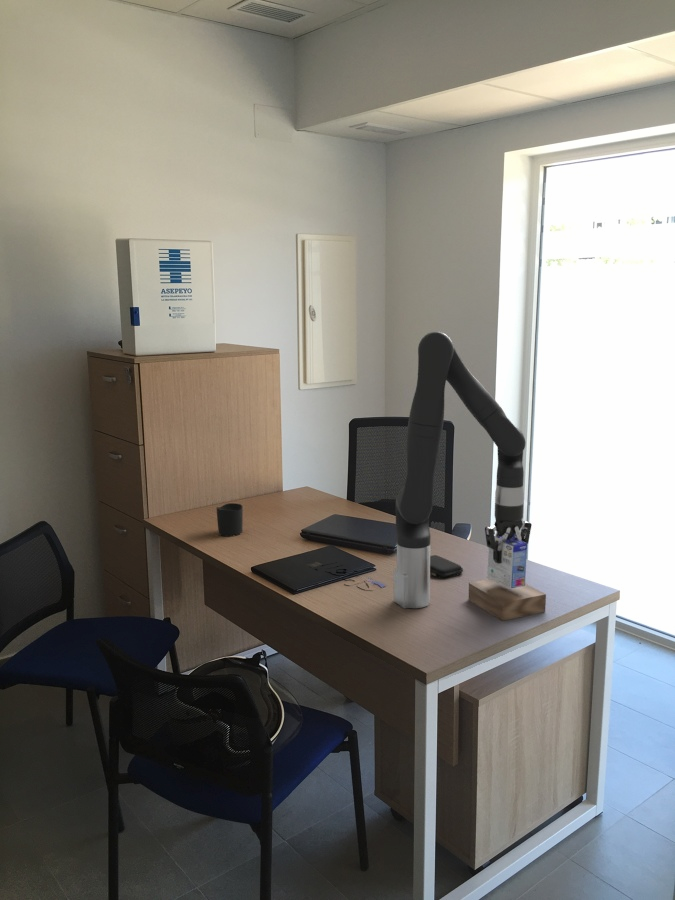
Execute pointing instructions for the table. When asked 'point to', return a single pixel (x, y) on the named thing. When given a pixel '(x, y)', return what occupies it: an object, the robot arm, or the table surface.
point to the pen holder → (230, 519)
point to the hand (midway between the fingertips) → (507, 560)
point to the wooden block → (506, 599)
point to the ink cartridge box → (509, 564)
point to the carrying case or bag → (443, 567)
